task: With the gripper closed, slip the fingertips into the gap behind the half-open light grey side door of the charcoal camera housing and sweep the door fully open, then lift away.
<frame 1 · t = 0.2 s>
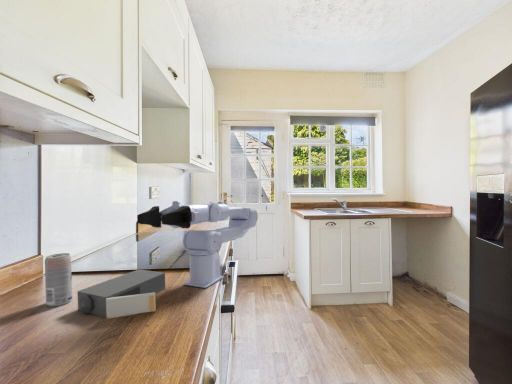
hand: (150, 219, 62), 21 cm above the worktop, tool horizontal, fingers open, 7 cm apart
energy drink: (59, 303, 67), on the worktop
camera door: (131, 305, 59), point 2 cm above the worktop, hinge at 50.0°
camera housing: (125, 298, 69), on the worktop
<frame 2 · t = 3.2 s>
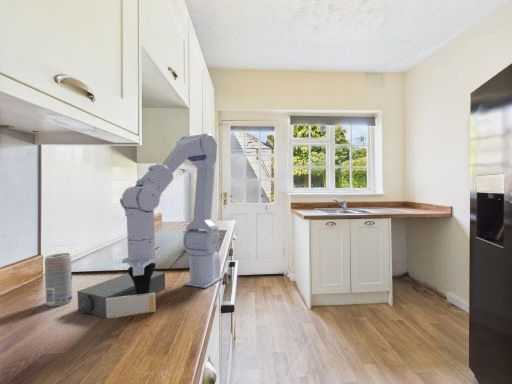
hand: (143, 297, 61), 3 cm above the worktop, tool pointing down, fingers closed, pressing on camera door
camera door: (131, 305, 59), point 2 cm above the worktop, hinge at 51.0°, touching gripper
everything else where it was.
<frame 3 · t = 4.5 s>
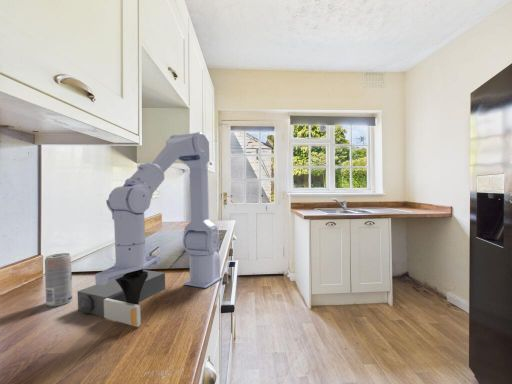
hand: (132, 307, 56), 3 cm above the worktop, tool pointing down, fingers closed, pressing on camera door
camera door: (120, 312, 56), point 2 cm above the worktop, hinge at 90.1°, touching gripper
everything else where it was.
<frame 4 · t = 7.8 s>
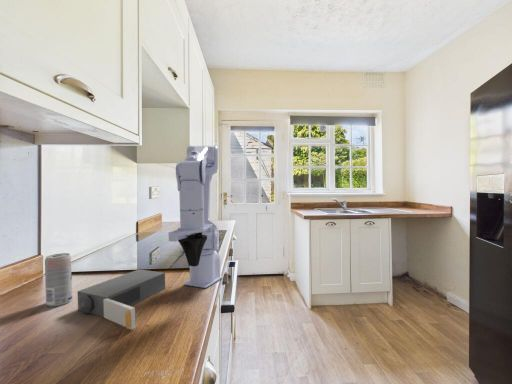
hand: (193, 265, 65), 9 cm above the worktop, tool pointing down, fingers closed
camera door: (117, 313, 55), point 2 cm above the worktop, hinge at 97.0°
everything else where it was.
at the end: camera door at +97° (first picture: +50°); energy drink moved 0.2 cm from its start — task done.
